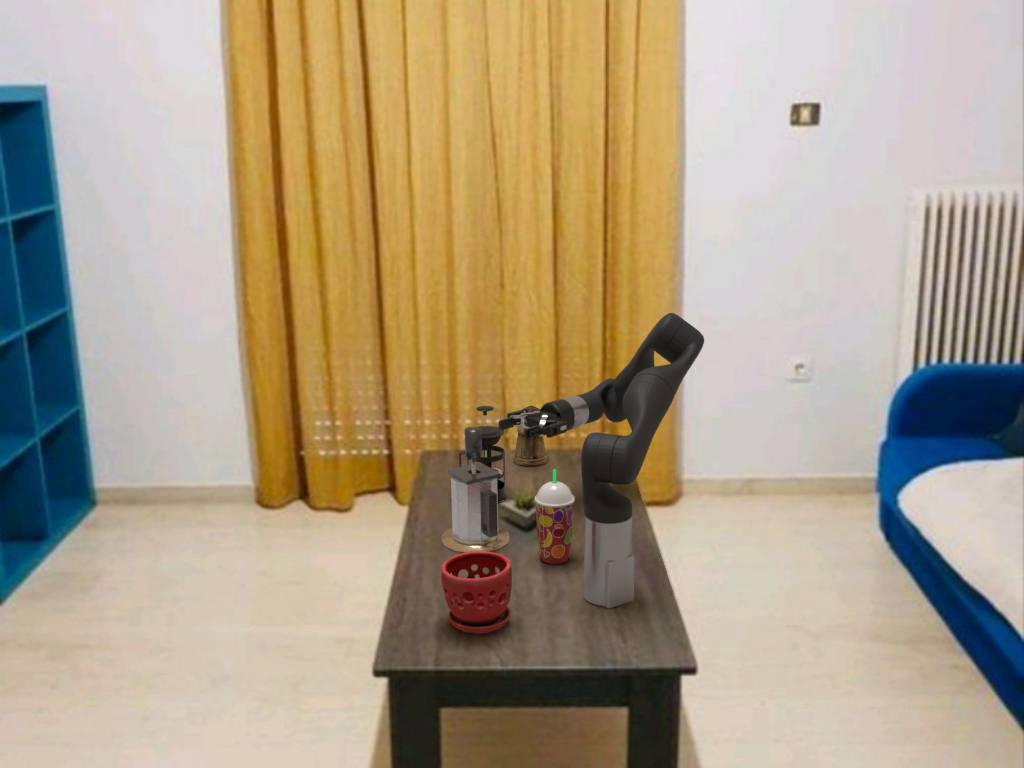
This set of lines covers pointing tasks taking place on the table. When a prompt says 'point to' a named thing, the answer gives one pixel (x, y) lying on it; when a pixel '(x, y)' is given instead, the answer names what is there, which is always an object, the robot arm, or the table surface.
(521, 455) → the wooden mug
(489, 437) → the french press
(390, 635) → the table surface
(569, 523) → the smoothie
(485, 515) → the press carafe
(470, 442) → the plunger
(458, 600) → the plant pot
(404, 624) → the table surface
